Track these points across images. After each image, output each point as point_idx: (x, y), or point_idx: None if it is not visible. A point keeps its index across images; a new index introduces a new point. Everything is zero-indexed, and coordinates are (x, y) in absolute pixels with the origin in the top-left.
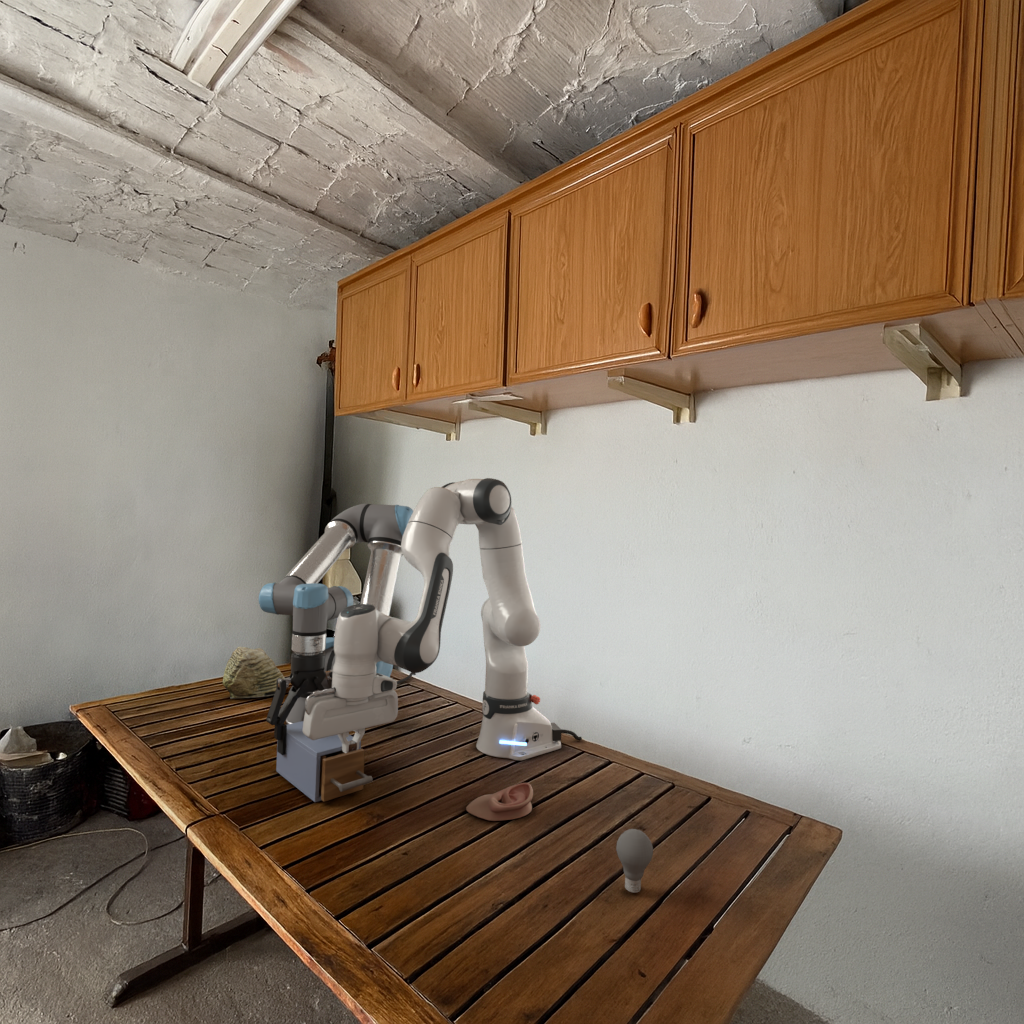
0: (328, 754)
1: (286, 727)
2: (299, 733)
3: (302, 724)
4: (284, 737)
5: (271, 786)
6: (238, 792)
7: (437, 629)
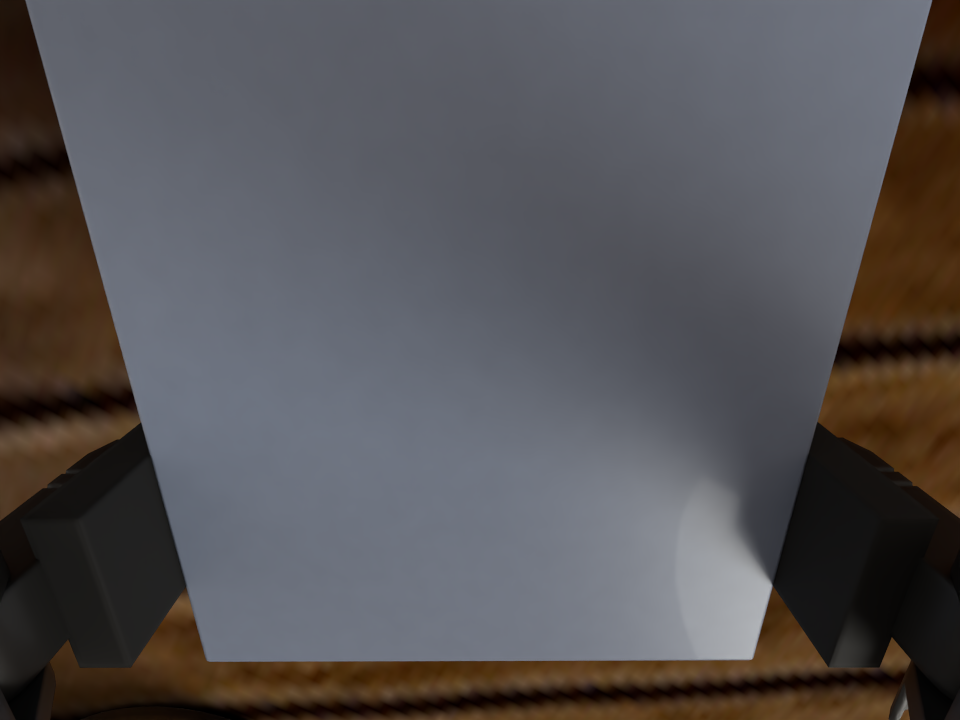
0: None
1: (865, 497)
2: (709, 313)
3: (493, 577)
4: None
5: None
6: (930, 280)
7: None
